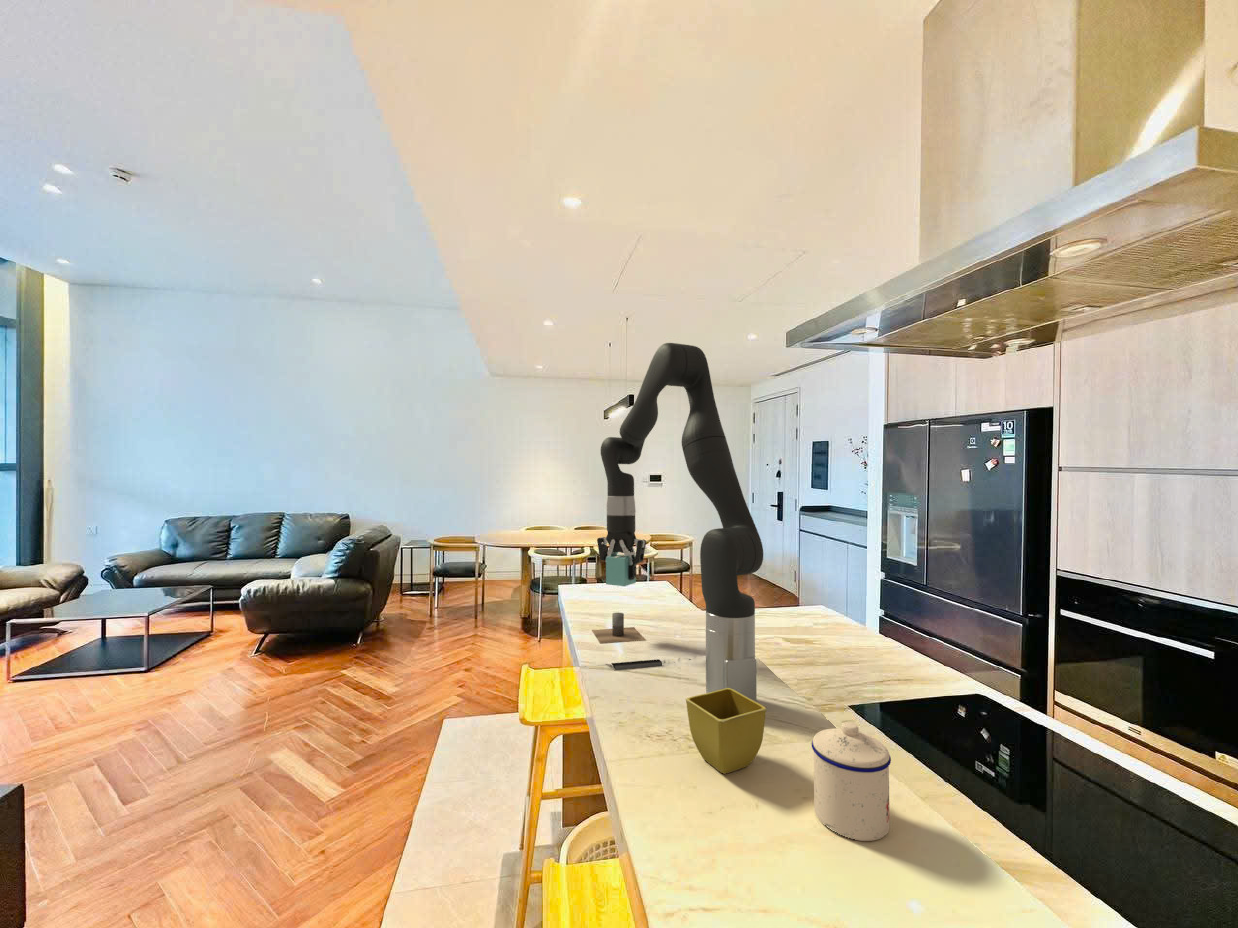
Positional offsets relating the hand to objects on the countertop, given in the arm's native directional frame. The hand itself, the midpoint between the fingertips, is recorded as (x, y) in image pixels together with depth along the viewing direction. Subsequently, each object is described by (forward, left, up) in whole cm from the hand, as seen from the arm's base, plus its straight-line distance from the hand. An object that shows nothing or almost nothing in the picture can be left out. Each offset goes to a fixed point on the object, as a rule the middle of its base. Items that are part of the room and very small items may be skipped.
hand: (621, 578), depth 134 cm
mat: (-12, 0, -17) cm, 21 cm away
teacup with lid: (-72, -12, -17) cm, 75 cm away
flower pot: (-58, -2, -17) cm, 61 cm away
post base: (+3, 0, -17) cm, 17 cm away
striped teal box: (0, 0, -1) cm, 1 cm away
